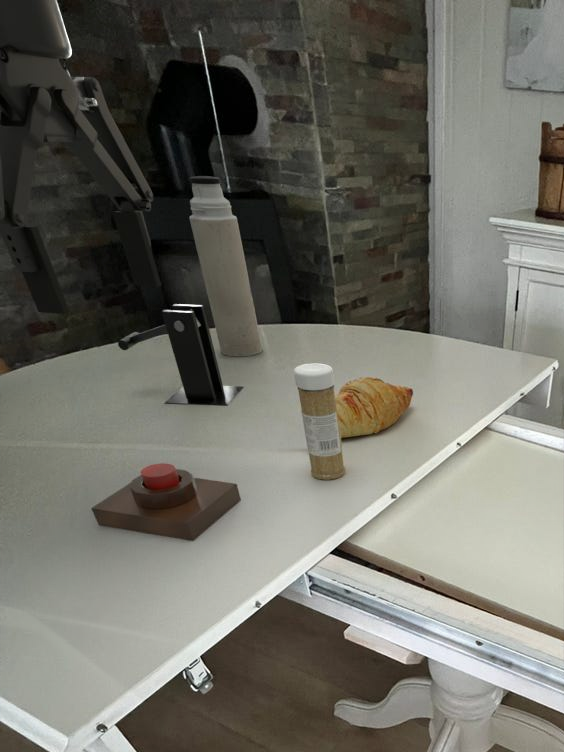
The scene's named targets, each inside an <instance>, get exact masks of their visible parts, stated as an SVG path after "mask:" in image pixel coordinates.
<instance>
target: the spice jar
mask: <svg viewBox="0 0 564 752" xmlns="http://www.w3.org/2000/svg"><path fill="white" fill-rule="evenodd" d="M293 376H294V383H295V386H296V388H297V391H298V397H299V402H300V403H299V404H300V409H301V417H302V424H303V428H304V436H305V442H306V448H307V453H308V456H309V463H310V469H311V470H310V473H311V475H312V476H313V478H315V479H319V480H325V481H327V480H328V481H331V480H336V479H338V478H340V477H342V476H343V475H344V474H345V473H346V466H345V465H344V457H343V456H344V455H343V449H342V448H343V445H342V444H343V443H342V438H341V435H340V427H339V424H338V416H337V409H336V402H335V390H334V389H335V376H334V371H333V368H332V367H331V366H330V365H328V364H324V363H304V364H301V365H297V366H296V367H295V368H294V369H293Z"/></svg>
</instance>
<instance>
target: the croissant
mask: <svg viewBox="0 0 564 752" xmlns="http://www.w3.org/2000/svg"><path fill="white" fill-rule="evenodd" d="M334 396H335V402H336V409H337V416H338V424H339V427H340V435H341V439H343V438H351V437H360V436H366V435H373V434H377V433H379V432H380V431H383V430H385V429H387V428H389V427H390V426H391V425H393V424H395V423H396V422H397V421H398V420H399V417H401V416H402V414H403V413H404V412H405V411H406V410H407V409H408V408H409V407H410V406H411V402H412V397H413V396H414V390H413V388H410V387H408V386H401V385H393V384H391V383H388V382H385V381H384V380H382V379H380V378H377V377H376V378H373V377H359V378H357V379H353V380H349V381H348V382H346V383H345V384H344V385H343V386H342V387H341V388H340V389H339V392H338V394H334Z"/></svg>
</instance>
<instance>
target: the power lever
mask: <svg viewBox="0 0 564 752" xmlns="http://www.w3.org/2000/svg"><path fill="white" fill-rule="evenodd" d="M187 311H193V309H190V310H187ZM194 314H195V313H194ZM195 318H196V321H197V325H198V327H200V326H201V324H200V322H199V320H198V318H197V316H196V314H195ZM165 334H168V332H167V329H166V325H165V324H162V325H159V326H157V327H153V328H150V329H147V330H145V331H142V332H138V331H134V332H132V333H130V334H128V335H126V336H125V337H122V339H120V340H118V341H117V346H118V348H119V349H120V350H122V351H128V350H130V349H131V348H132V347H134V346H136V345H137V344H139V343H141V342H145V341H147V340H151V339H153V338H155V337H159V336H161V335H165Z"/></svg>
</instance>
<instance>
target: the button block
mask: <svg viewBox="0 0 564 752" xmlns="http://www.w3.org/2000/svg"><path fill="white" fill-rule="evenodd" d="M176 471H177V474H178V477H179V480H180V483H178V484H177V485H175V486H173V487H170V488H167V489H157V490H152V489H147V488H146V486H145V484H144V481H143V478H142V475H141V474H140V475H139V476H137V477H136V478H134V479H133V480H132V481H131V482H130V483H128V484H126V485H125V486H122V488H120V489H119V490H117V491H116V492H113V494H111V495H109V496H108V497H106V498H104V499H103V500H101V501H100V502H99V503H97V504H96V505H94V506H92V507H91V511H92V514H93V516H94V517H95V520H96V523H97V524H98V526H99V527H105V528H113V529H117V530H125V531H130V532H137V533H142V534H149V535H155V536H159V537H160V536H161V537H168V538H173V539H174V538H175V539H178V540H185V541H190V542H194V541H195V540H196V539H197V538H198V537H200V536H201V535H202V534H203V533H205V532H206V531H207V530H208V529H209V528H210V527H211V526H212V525H214V524H215V523H216V522H218V520H220V519H221V518H222V517H224V516H225V515H226V513H228V512H229V511H230V510H231V509H232V508H234V507H235V506H236V505H237V504H238V503H239V502H241V501H242V499H241V494H240V490H239V487H238V484H237V483H233V482H227V481H221V480H214V479H207V478H199V477H194V474H192V473H191V472H189V471H188V470H185V469H180V468H179V469H178V468H176Z"/></svg>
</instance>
